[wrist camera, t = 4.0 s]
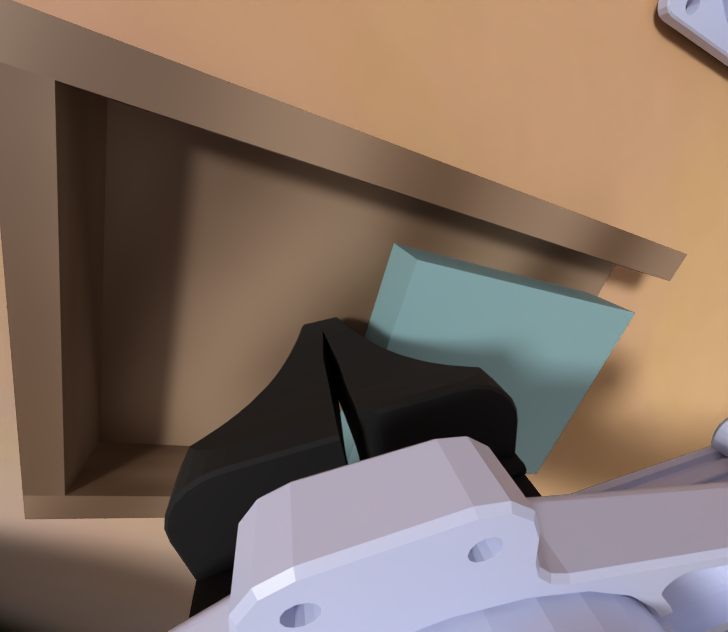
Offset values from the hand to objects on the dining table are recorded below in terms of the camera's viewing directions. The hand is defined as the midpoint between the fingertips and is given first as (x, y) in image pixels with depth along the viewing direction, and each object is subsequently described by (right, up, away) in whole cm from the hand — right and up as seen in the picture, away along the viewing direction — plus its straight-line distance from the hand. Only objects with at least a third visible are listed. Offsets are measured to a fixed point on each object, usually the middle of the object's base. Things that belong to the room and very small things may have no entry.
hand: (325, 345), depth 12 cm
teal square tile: (+5, -1, +2) cm, 6 cm away
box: (+1, 0, +2) cm, 2 cm away
